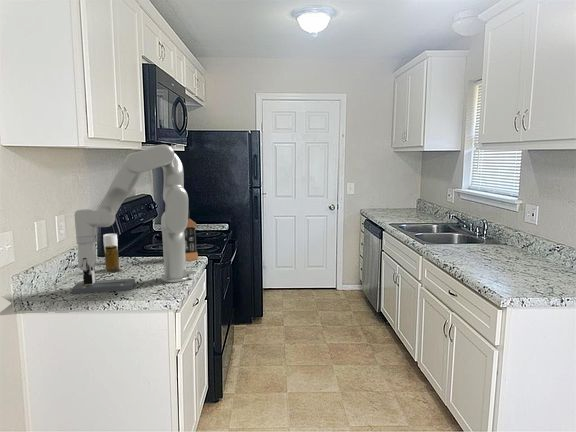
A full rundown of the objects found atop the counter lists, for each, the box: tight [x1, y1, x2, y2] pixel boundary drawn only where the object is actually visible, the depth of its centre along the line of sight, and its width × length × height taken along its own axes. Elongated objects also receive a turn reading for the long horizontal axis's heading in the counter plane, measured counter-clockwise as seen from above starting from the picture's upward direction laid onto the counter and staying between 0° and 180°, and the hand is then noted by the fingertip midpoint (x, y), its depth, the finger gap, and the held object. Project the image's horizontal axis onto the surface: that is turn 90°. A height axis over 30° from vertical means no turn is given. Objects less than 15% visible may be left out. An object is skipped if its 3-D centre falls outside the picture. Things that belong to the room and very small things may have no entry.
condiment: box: [103, 245, 126, 273], centre depth 203 cm, size 7×8×12 cm
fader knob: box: [85, 270, 96, 285], centre depth 174 cm, size 3×4×5 cm
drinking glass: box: [102, 233, 119, 253], centre depth 216 cm, size 7×7×15 cm
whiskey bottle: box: [184, 204, 199, 262], centre depth 224 cm, size 10×10×32 cm
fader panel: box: [70, 278, 136, 295], centre depth 176 cm, size 23×10×2 cm, turn 102°
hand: (89, 281), depth 175 cm, fingers closed on fader knob, 4 cm apart
